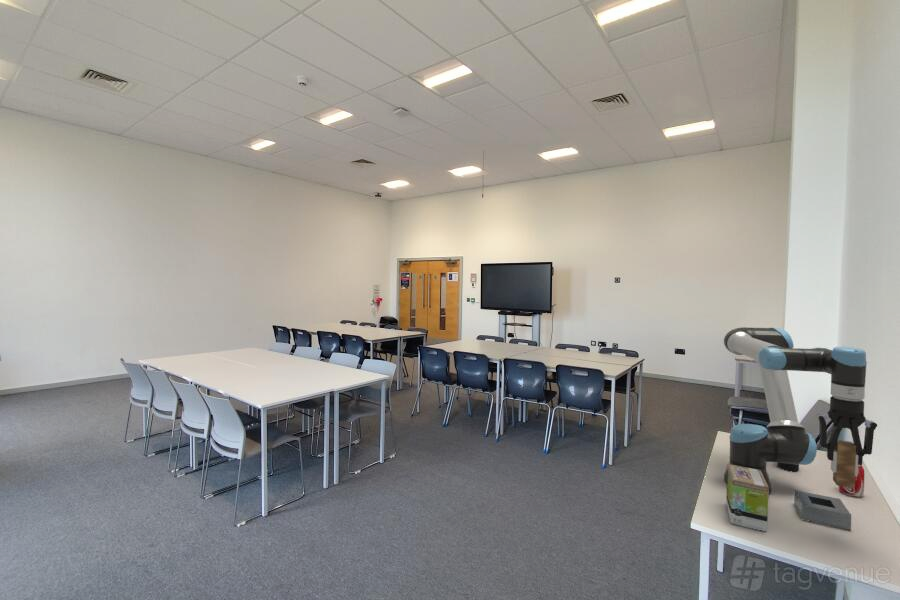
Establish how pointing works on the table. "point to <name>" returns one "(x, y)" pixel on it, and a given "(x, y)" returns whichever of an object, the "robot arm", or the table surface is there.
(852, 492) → the soda can
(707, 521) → the table surface
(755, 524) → the tea box
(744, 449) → the robot arm
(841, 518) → the socket block
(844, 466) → the walnut peg
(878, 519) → the table surface
